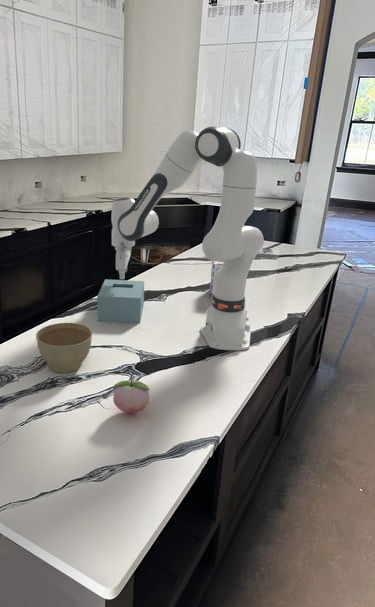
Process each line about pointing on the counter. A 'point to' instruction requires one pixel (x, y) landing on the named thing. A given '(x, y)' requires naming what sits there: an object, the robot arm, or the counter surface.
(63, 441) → the counter surface
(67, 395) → the counter surface
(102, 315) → the box
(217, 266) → the candy box
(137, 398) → the decorative fruit
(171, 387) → the counter surface
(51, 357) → the planter bowl
